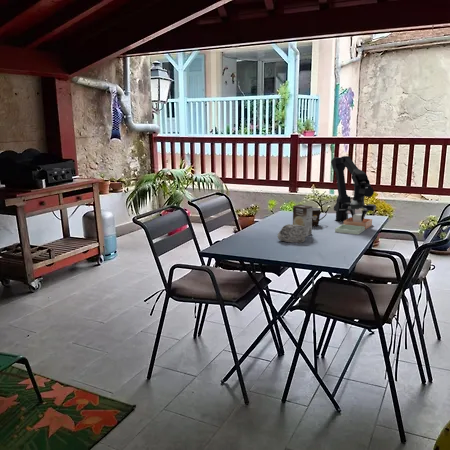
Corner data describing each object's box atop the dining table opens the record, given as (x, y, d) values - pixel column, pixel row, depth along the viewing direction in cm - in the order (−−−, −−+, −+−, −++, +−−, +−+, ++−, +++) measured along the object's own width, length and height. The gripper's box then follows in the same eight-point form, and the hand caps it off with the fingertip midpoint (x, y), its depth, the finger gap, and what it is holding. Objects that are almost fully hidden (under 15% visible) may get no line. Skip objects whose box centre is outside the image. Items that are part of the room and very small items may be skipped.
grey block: (352, 222, 268) (353, 214, 267) (355, 220, 272) (355, 213, 271) (360, 223, 266) (360, 215, 265) (362, 221, 270) (363, 214, 269)
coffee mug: (304, 226, 274) (304, 209, 272) (307, 223, 282) (307, 207, 279) (323, 227, 269) (324, 210, 267) (326, 224, 277) (327, 208, 275)
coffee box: (291, 234, 256) (292, 206, 252) (298, 232, 260) (298, 204, 257) (306, 237, 250) (306, 207, 246) (312, 234, 254) (313, 206, 251)
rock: (311, 240, 241) (308, 221, 240) (305, 243, 234) (302, 224, 233) (283, 242, 249) (280, 224, 248) (277, 245, 242) (274, 226, 241)
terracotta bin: (343, 227, 268) (343, 220, 267) (350, 223, 278) (350, 217, 277) (365, 230, 261) (366, 223, 260) (371, 225, 271) (372, 219, 270)
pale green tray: (335, 232, 257) (335, 228, 256) (342, 228, 267) (342, 224, 266) (358, 235, 250) (358, 231, 249) (364, 230, 260) (364, 226, 259)
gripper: (338, 195, 264) (337, 222, 267) (371, 197, 254) (370, 225, 257) (345, 192, 273) (344, 218, 276) (377, 194, 263) (375, 221, 266)
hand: (357, 220), depth 269 cm, fingers closed on grey block, 4 cm apart
